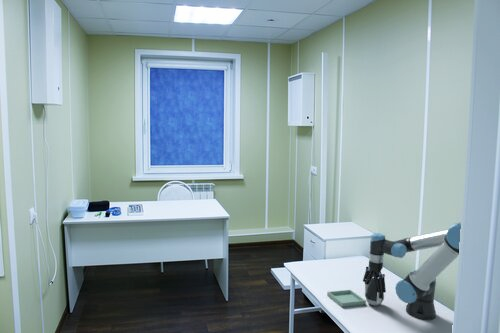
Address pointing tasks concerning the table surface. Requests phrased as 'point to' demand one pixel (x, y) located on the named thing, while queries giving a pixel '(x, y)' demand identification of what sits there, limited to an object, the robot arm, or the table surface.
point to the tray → (346, 298)
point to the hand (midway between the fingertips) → (372, 299)
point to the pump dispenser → (372, 292)
